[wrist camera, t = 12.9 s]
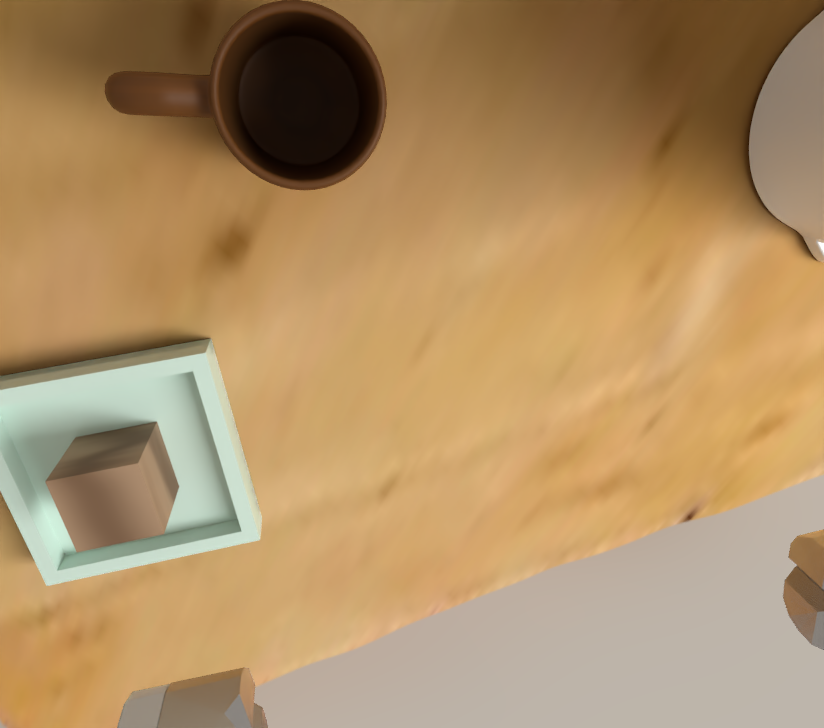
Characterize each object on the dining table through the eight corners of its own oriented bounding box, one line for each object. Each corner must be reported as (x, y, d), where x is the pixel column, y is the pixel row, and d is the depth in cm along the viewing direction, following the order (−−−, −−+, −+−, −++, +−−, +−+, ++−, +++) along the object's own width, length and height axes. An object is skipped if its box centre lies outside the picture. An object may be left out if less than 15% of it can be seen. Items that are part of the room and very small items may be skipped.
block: (156, 421, 38) (138, 463, 34) (179, 486, 40) (164, 534, 36) (75, 437, 38) (45, 481, 33) (102, 502, 40) (76, 552, 35)
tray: (211, 338, 38) (205, 352, 36) (261, 517, 44) (260, 540, 41) (-24, 380, 37) (-46, 398, 34) (60, 560, 42) (46, 586, 40)
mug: (153, 170, 34) (104, 190, 25) (134, 15, 31) (72, -22, 22) (367, 175, 36) (388, 195, 27) (368, 30, 33) (392, 1, 25)
